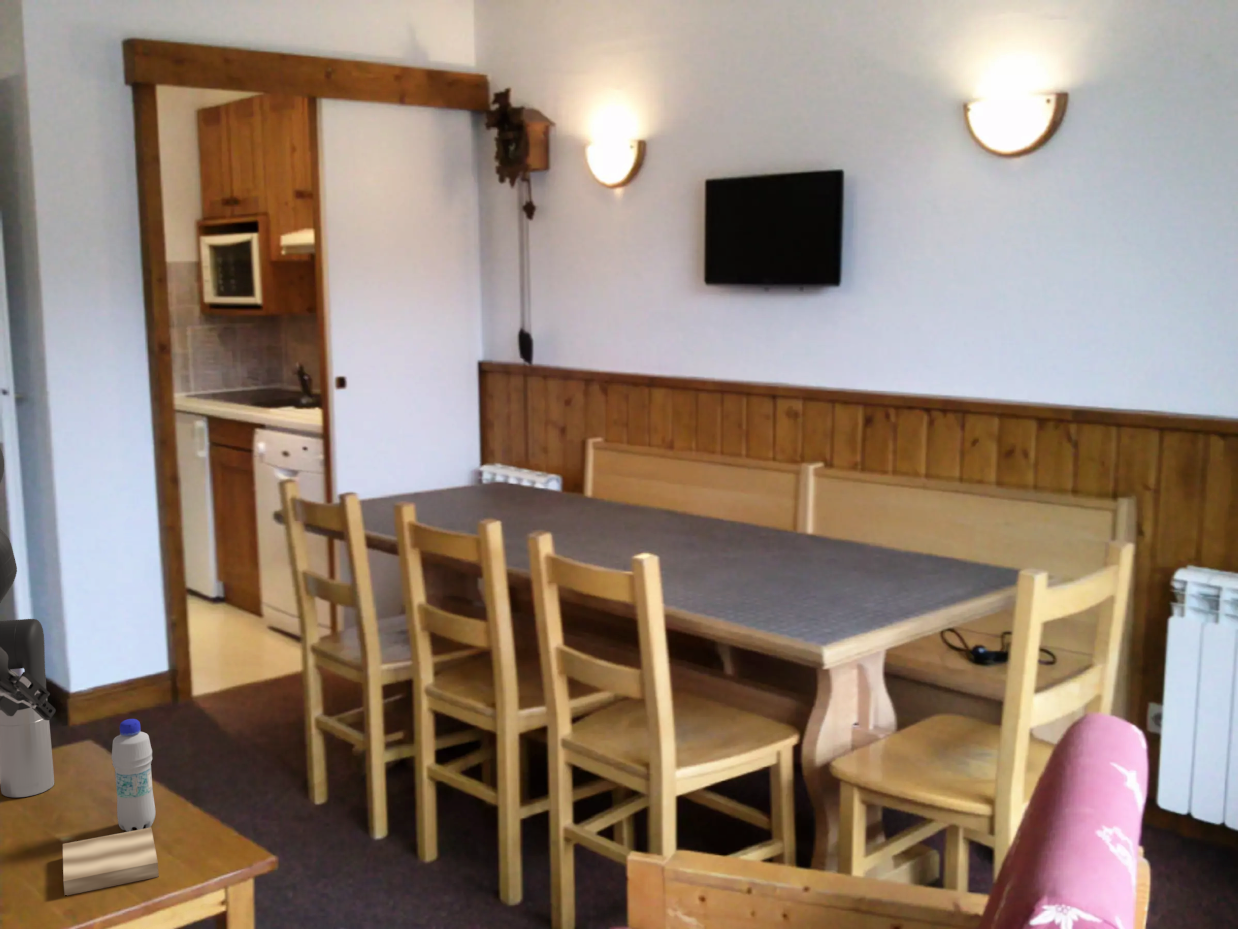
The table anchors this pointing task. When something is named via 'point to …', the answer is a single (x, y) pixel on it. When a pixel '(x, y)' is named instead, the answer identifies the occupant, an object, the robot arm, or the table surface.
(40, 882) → the table surface
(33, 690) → the robot arm
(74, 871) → the birch stand
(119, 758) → the bottle
